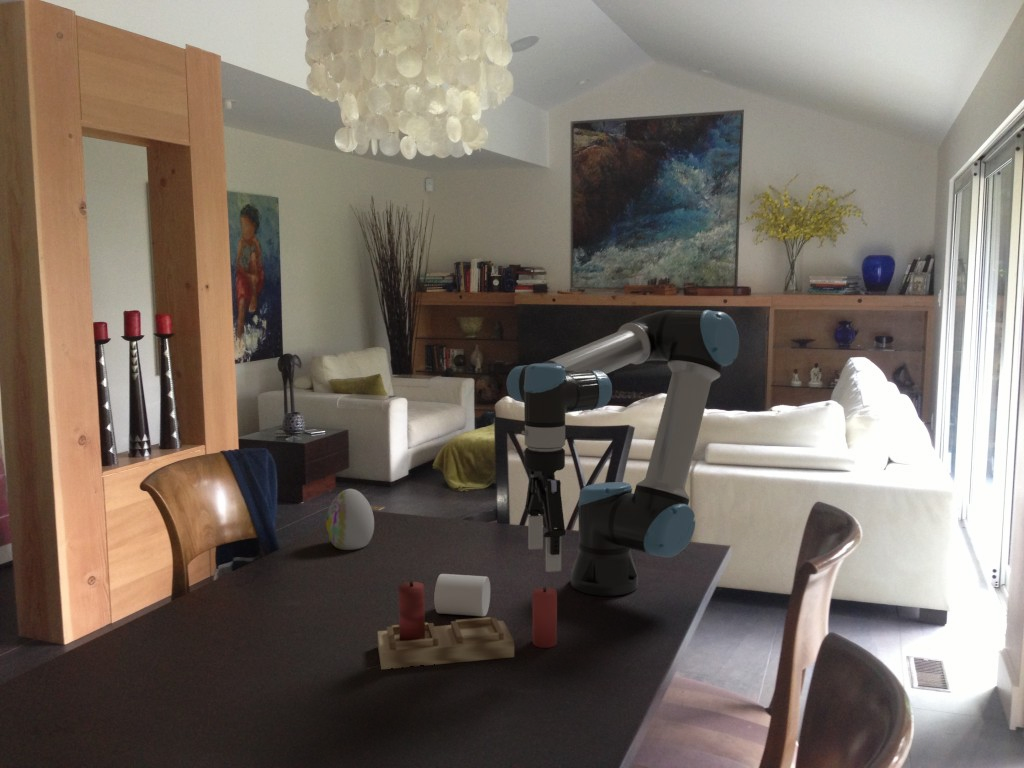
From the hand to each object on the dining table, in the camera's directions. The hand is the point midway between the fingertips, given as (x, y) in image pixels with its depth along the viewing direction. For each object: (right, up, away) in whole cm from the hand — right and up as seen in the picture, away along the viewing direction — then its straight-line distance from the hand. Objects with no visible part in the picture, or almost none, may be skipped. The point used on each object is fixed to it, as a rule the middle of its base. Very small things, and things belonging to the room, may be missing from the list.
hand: (544, 559), depth 163 cm
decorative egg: (-48, -9, +64) cm, 80 cm away
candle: (0, -16, +2) cm, 16 cm away
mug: (-16, -15, +19) cm, 28 cm away
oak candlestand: (-18, -17, -2) cm, 25 cm away
